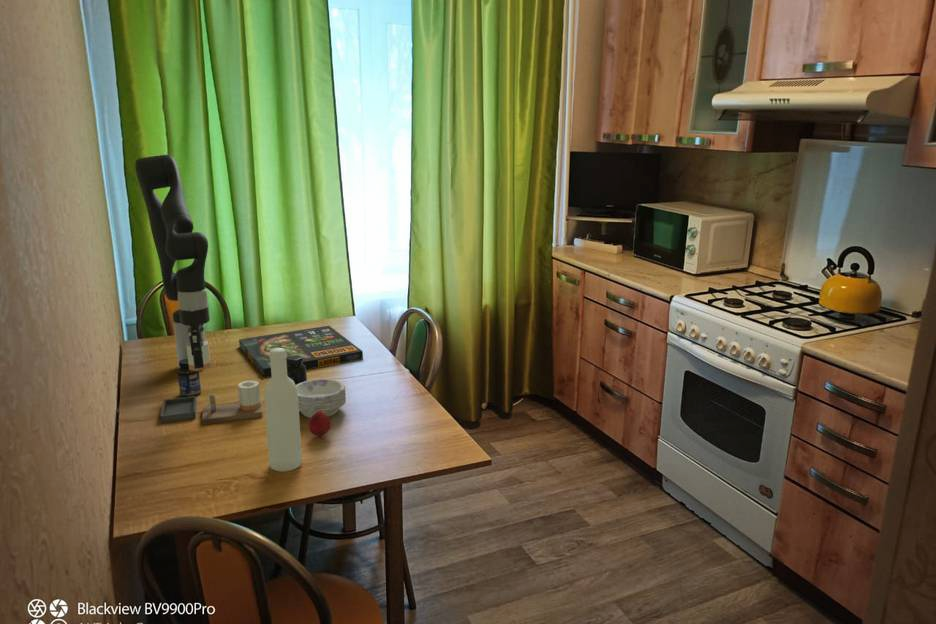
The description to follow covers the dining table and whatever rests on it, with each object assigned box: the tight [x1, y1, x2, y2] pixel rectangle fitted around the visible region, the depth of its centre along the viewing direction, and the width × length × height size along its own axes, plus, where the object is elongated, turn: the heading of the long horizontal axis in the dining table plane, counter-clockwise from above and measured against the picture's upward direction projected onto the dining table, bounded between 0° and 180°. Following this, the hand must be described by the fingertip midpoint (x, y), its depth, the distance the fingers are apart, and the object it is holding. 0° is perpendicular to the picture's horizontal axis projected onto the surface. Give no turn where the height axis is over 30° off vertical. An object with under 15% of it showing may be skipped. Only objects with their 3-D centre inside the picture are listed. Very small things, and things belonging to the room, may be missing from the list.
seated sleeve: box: [237, 380, 262, 411], centre depth 192 cm, size 6×6×7 cm
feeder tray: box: [160, 396, 198, 424], centre depth 192 cm, size 12×9×2 cm
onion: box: [308, 409, 332, 438], centre depth 177 cm, size 6×6×8 cm
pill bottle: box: [176, 359, 202, 398], centre depth 203 cm, size 6×6×11 cm
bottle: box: [263, 348, 303, 473], centre depth 160 cm, size 8×8×30 cm
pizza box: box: [238, 325, 364, 378], centre depth 241 cm, size 35×35×4 cm
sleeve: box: [186, 340, 212, 372], centre depth 184 cm, size 6×6×7 cm
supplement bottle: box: [286, 355, 308, 385], centre depth 204 cm, size 7×7×12 cm
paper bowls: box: [296, 378, 347, 419], centre depth 192 cm, size 15×15×8 cm
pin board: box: [201, 393, 263, 426], centre depth 190 cm, size 10×16×6 cm, turn 110°
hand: (199, 363), depth 185 cm, fingers closed on sleeve, 5 cm apart
